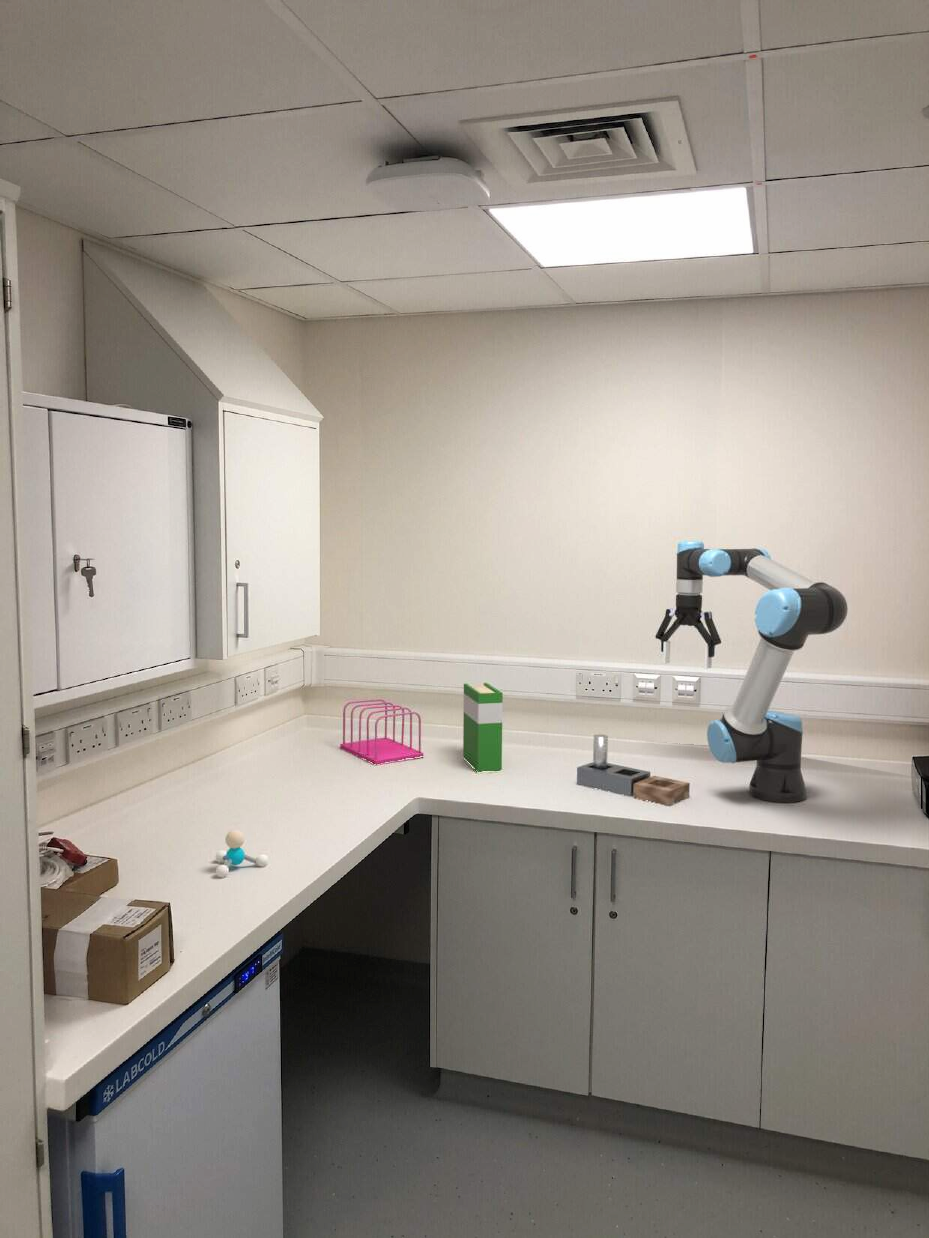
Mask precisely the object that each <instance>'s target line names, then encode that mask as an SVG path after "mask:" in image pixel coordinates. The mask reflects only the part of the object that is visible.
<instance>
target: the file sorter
mask: <svg viewBox="0 0 929 1238" xmlns="http://www.w3.org/2000/svg"><path fill="white" fill-rule="evenodd" d="M371 702H374V703H371ZM358 703H365V704H358ZM350 704H357V705H355V706H353V707H352V709H351V712H350V741H349V742H346V711H347V710H346V709H347V706H349V705H350ZM359 707H363V708H362V709H361V710H360V713H359V718H358V720H359V721H358V722H359V723H358V740H357V741H356V740H355V741H354V739H353V737H354V735H353V731H354V730H353V729H354V728H353V727H354V726H353V725H354V723H353V722H354V721H353V720H354V711H355V709H357V708H359ZM382 708H384V709H382ZM388 708H390V709H388ZM370 709H371V710H372V709H380V710H374V711H372V712H370V713H369V714H368V715H367V718H366V739H365V740H364V739H363V740H361V739H362V715H363V713H364V711H366V710H370ZM405 710H407V711H408V712H405ZM342 711H343V712H342V717H343V718H342V743H340V744H339V745H340V746H339V747H340V749H341V750H342V749H343V751H344V750H345V751H344V752H347V753H349V752H350V753H349V754H351V753H352V754H351V755H353V754H354V755H353V756H355V755H357V756H359V757H361V758H364V759H366V760H367V761H370V762H372V763H373V764H380V765H382V764H381V763H385V762H390V761H398V760H402V759H406V758H415V757H420V756H424V752H422V739H421V738H422V720H421V715H420V714H419V713H418V712H415V711H412V710H411V709H410V708H408V707H402V705H399V704H396V705H395V704H393V703H391V702H389V701H387V702H386V701H385V700H384V699H366V700H355V701H354V700H353V701H348V702H347V703H346V704H345V705H344V707H343V710H342ZM396 711H401V712H402V713H396ZM388 712H392V714H388ZM378 713H379V714H380V713H385V715H381V716H379V717H378V718H377V719H376V721H375V723H374V738H370V737H369V736H370V734H369V733H370V729H369V728H370V727H369V726H370V724H369V722H370V718H371V716H372V715H373V714H378ZM413 714H414V715H416V716H417V717H418V750H417V749H415V748H413ZM405 715H406V716H407V715H409V745H406V744H404V739H405V738H404V734H405ZM398 716H402V723H401V740H400V741H397V740H396V717H398ZM390 717H393V721H392V722H393V725H392V738H390V737H387V734H388V733H387V732H388V718H390ZM384 718H385V719H384ZM381 719H384V737H379V738H378V724H379V723H378V722H379V721H380V720H381ZM357 756H356V757H357ZM359 757H358V758H359ZM361 758H360V759H361ZM367 761H366V762H367ZM373 764H372V765H373Z"/></svg>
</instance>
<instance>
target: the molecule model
mask: <svg viewBox="0 0 929 1238" xmlns="http://www.w3.org/2000/svg"><path fill="white" fill-rule="evenodd" d="M224 841H225V844H226V845H227V847H228V848H229V849H228V850H227V851H225V850H219V851H218V852H216V854H215V860H216V862H217V863H219V865H218V866H217V867H216V869H215V875H216V877H217V878H219V879H224V878H226V877H227V876H228V875H229V873H230V872H229V871H230V870H229V868H230V866H239V865H240V864H242V863H243V861H244V860H245V861H248V862H250V863H253V864H256V866H258V867H260V868H261V867H262V868H264V867H267V865H268V863H269V858H268V856H267V855H266V854H259V855H258V856H256V858H255V857H252V856H250V855H247V854H246V853H245V851H244V849H243V848H242V846H243V844H244V842H245V835H244V833H243V832H242V831H241V830H238V829H232V830H230V831H228V832H227V834H226V836H225V840H224ZM223 863H225V864H223Z"/></svg>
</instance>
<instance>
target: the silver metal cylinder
mask: <svg viewBox="0 0 929 1238" xmlns="http://www.w3.org/2000/svg"><path fill="white" fill-rule="evenodd" d="M608 739H609V736H608V735H607V734H594V735H593V753H592V754H593V756H592V757H593V758H592V762H593V768H594V769H599V770H605V769H607V763H608V753H609V751H608V745H609V744H608V743H609V740H608Z"/></svg>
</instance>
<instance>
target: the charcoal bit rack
mask: <svg viewBox="0 0 929 1238" xmlns="http://www.w3.org/2000/svg"><path fill="white" fill-rule="evenodd" d="M576 773H577V774H576V785H578V786H582V785H584V786H583V787H586V786H587V787H586V788H590V787H591V789H595V788H597V789H596V790H599V789H601V790H600V791H603V790H604V792H608V791H610V792H609V793H612V792H613V793H614V794H616V795H617V794H618V795H621V794H624V795H623V796H625V795H627V796H626V797H629V798H630V797H631V796H632V797H633V786H634V783H637V782H639V781H642V780H644V779H647V778H650V777H651V771H647V770H643V769H640V768H639V769H638V768H633V767H630V766H624V765H619V764H614V763H609V762H607V769H605V770H599V769H594V768H593V761H592V762H588V763H586V764H583V765H581V766H577V767H576ZM613 793H612V794H613ZM632 797H631V798H632Z"/></svg>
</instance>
